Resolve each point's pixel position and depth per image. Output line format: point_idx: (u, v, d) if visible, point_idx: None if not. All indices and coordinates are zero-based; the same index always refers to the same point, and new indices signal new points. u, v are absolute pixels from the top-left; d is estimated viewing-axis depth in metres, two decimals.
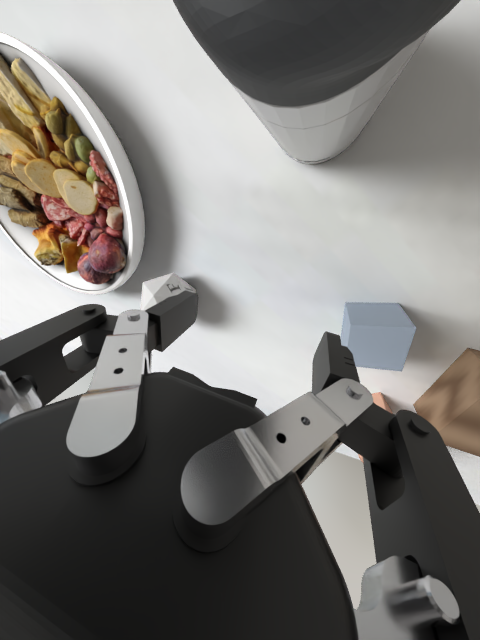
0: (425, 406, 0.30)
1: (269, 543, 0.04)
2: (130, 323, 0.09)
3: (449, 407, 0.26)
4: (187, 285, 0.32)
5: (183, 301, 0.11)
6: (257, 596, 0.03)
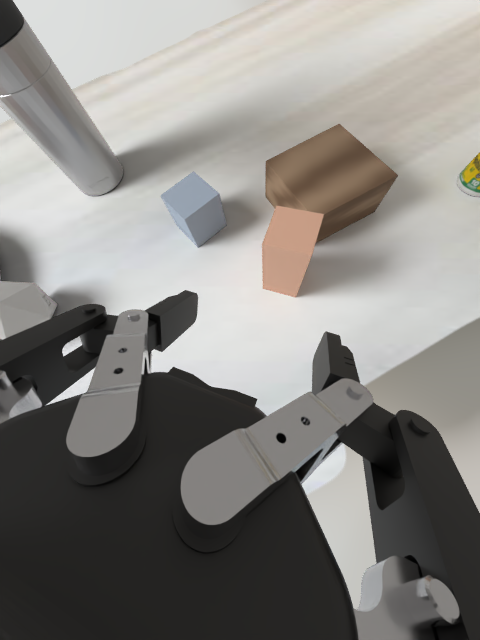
0: None
1: (269, 543, 0.04)
2: (130, 323, 0.09)
3: (290, 201, 0.28)
4: None
5: (183, 301, 0.11)
6: (257, 596, 0.03)
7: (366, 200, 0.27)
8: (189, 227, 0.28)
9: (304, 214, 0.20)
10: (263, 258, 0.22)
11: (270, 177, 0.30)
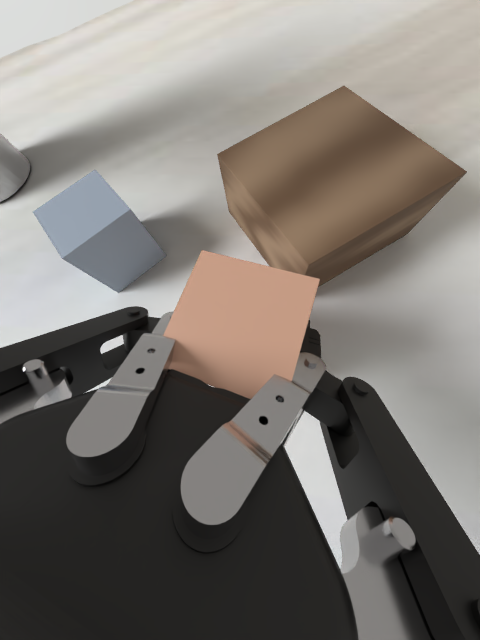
0: None
1: (269, 543, 0.04)
2: None
3: (262, 224, 0.15)
4: None
5: None
6: (257, 596, 0.03)
7: (402, 220, 0.14)
8: (82, 268, 0.16)
9: (267, 277, 0.08)
10: None
11: (228, 182, 0.17)
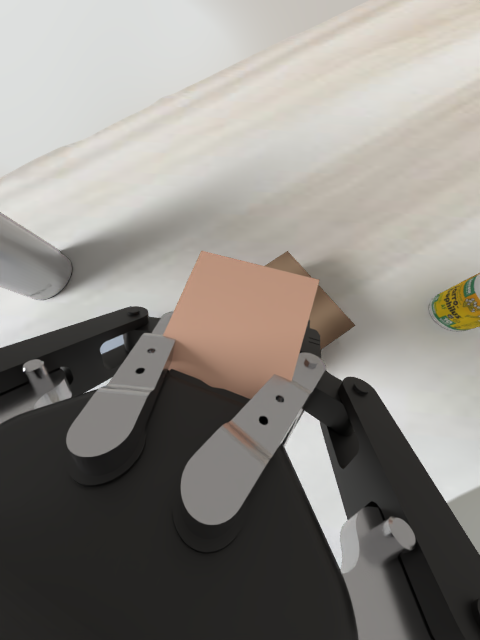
0: None
1: (269, 543, 0.04)
2: None
3: None
4: None
5: None
6: (257, 596, 0.03)
7: None
8: None
9: (267, 277, 0.08)
10: None
11: None
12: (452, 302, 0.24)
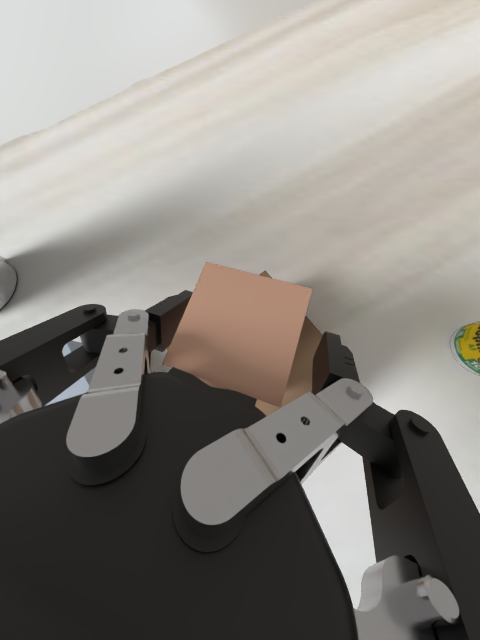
0: None
1: (269, 543, 0.04)
2: (130, 323, 0.09)
3: None
4: None
5: (183, 301, 0.11)
6: (257, 596, 0.03)
7: None
8: None
9: (266, 287, 0.09)
10: None
11: None
12: None
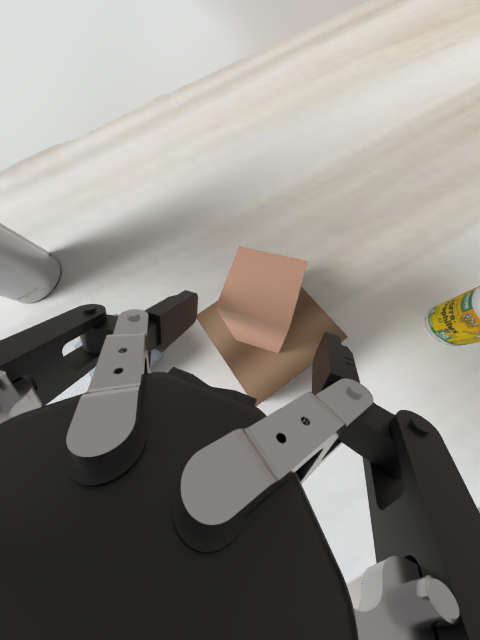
0: None
1: (269, 543, 0.04)
2: (130, 323, 0.09)
3: None
4: None
5: (183, 301, 0.11)
6: (257, 596, 0.03)
7: None
8: None
9: (278, 260, 0.14)
10: (224, 319, 0.15)
11: None
12: (448, 316, 0.23)
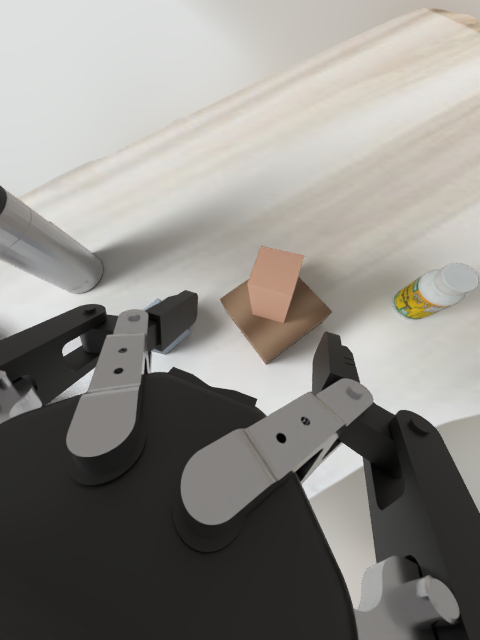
0: (258, 353, 0.33)
1: (269, 543, 0.04)
2: (130, 323, 0.09)
3: (245, 334, 0.32)
4: None
5: (183, 301, 0.11)
6: (257, 596, 0.03)
7: (309, 329, 0.31)
8: (153, 350, 0.32)
9: (286, 255, 0.22)
10: (249, 293, 0.24)
11: (226, 309, 0.33)
12: (405, 297, 0.31)
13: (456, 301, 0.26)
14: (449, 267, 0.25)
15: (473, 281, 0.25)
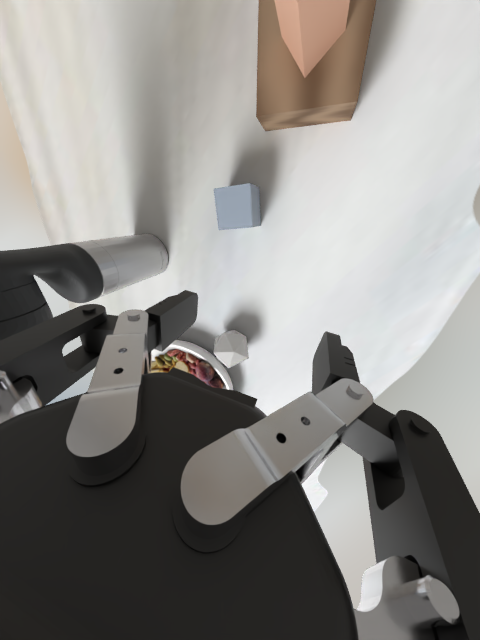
0: (335, 117, 0.27)
1: (269, 543, 0.04)
2: (130, 323, 0.09)
3: (309, 113, 0.26)
4: None
5: (183, 301, 0.11)
6: (257, 596, 0.03)
7: None
8: (254, 225, 0.34)
9: None
10: (301, 26, 0.17)
11: (269, 119, 0.28)
12: None
13: None
14: None
15: None
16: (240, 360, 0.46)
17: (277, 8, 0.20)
